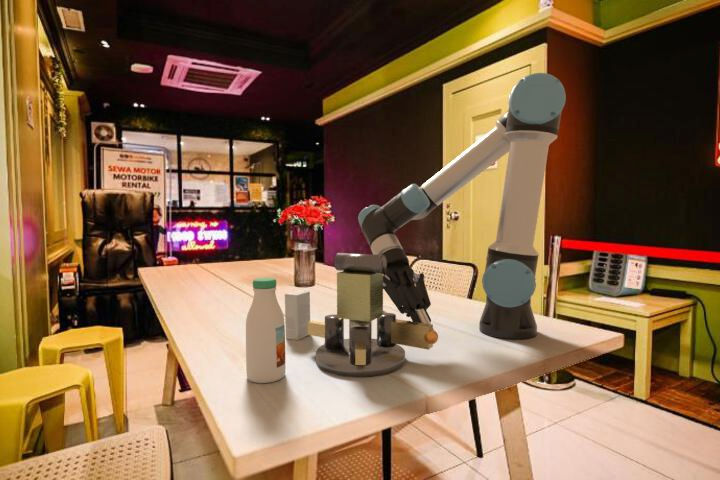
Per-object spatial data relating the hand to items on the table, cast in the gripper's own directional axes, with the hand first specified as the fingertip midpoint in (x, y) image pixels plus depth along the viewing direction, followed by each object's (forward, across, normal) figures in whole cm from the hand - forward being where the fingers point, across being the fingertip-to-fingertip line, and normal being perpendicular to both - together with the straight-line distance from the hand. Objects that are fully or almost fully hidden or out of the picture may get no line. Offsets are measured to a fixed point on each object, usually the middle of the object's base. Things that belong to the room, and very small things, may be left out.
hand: (429, 336), depth 96 cm
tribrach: (-2, +16, -9) cm, 19 cm away
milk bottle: (-2, +35, -10) cm, 37 cm away
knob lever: (0, +5, -4) cm, 6 cm away
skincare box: (-18, +20, -26) cm, 37 cm away
